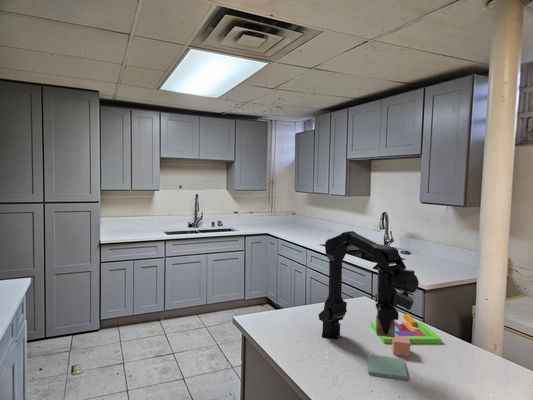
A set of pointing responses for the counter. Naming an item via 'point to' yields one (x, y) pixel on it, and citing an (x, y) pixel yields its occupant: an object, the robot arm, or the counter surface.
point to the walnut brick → (380, 331)
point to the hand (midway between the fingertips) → (385, 330)
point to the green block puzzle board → (411, 332)
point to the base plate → (386, 366)
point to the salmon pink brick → (401, 346)
